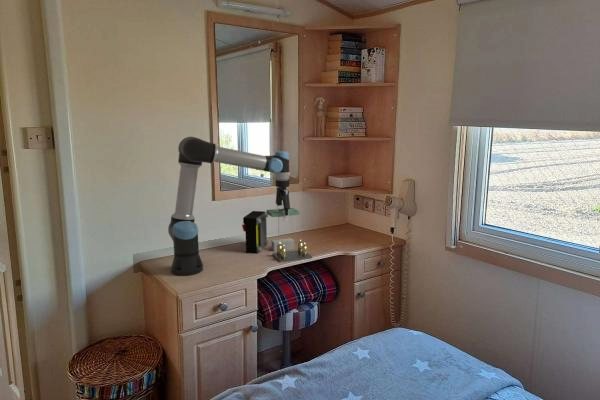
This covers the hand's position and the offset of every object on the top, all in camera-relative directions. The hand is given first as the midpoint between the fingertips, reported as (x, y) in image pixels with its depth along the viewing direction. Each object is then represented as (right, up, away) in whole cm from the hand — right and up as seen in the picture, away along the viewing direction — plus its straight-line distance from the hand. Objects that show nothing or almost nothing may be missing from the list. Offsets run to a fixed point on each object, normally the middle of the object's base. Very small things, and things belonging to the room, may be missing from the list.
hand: (282, 218), depth 244 cm
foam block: (0, -17, +4) cm, 18 cm away
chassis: (+5, -20, -10) cm, 23 cm away
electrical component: (-15, -17, +4) cm, 24 cm away
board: (0, +3, -1) cm, 3 cm away
